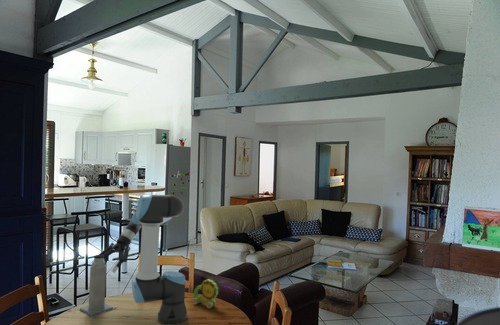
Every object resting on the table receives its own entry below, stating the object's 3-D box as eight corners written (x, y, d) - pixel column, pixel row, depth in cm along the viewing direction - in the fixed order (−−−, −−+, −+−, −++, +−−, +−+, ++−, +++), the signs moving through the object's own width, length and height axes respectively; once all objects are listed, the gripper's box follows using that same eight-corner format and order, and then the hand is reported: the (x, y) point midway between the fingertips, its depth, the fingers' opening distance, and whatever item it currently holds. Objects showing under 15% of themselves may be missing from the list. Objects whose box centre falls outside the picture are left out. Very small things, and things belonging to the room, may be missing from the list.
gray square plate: (112, 309, 186) (112, 307, 186) (91, 316, 176) (91, 313, 176) (100, 303, 193) (101, 301, 193) (79, 310, 183) (80, 307, 183)
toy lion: (191, 304, 197) (192, 277, 197) (197, 301, 202) (198, 275, 202) (214, 310, 189) (215, 282, 190) (219, 307, 194) (220, 280, 194)
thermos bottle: (93, 304, 189) (96, 253, 190) (107, 305, 188) (109, 254, 189) (85, 309, 181) (87, 257, 182) (99, 310, 180) (101, 257, 181)
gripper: (144, 244, 200) (123, 276, 186) (114, 240, 211) (92, 270, 197) (138, 237, 196) (116, 269, 182) (107, 232, 207) (85, 262, 193)
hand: (104, 269), depth 190 cm, fingers open, 13 cm apart
